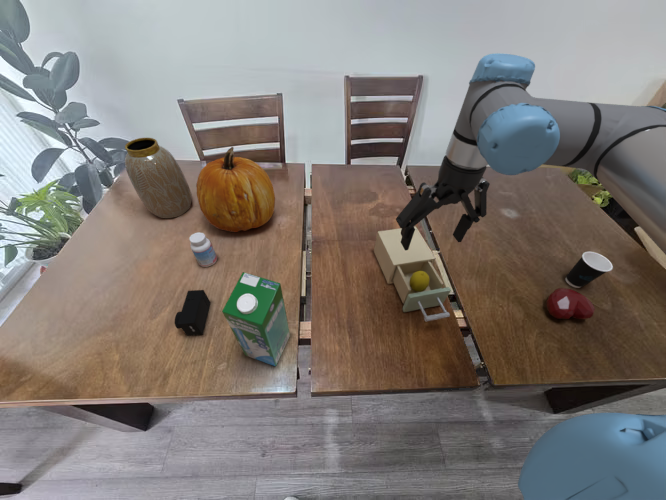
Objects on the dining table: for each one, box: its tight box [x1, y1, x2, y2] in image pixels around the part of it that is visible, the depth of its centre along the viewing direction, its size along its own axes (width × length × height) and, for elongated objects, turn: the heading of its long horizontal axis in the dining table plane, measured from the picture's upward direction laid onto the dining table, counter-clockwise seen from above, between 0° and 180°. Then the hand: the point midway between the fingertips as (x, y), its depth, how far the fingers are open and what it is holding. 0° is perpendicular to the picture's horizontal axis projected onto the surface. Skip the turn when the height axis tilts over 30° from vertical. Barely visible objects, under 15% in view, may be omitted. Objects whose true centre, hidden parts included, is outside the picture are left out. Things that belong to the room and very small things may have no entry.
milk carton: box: [221, 271, 291, 367], centre depth 65 cm, size 9×9×25 cm
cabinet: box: [373, 225, 436, 285], centre depth 91 cm, size 15×14×10 cm
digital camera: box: [174, 289, 211, 337], centre depth 76 cm, size 10×5×7 cm, turn 5°
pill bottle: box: [188, 231, 218, 268], centre depth 89 cm, size 6×6×11 cm
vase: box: [124, 137, 193, 219], centre depth 101 cm, size 17×17×27 cm
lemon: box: [410, 271, 429, 292], centre depth 82 cm, size 6×6×8 cm
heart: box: [545, 287, 596, 320], centre depth 82 cm, size 12×8×10 cm
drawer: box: [392, 261, 452, 323], centre depth 82 cm, size 20×13×8 cm, turn 13°
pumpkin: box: [196, 146, 276, 233], centre depth 97 cm, size 26×23×30 cm
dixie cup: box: [564, 251, 614, 289], centre depth 88 cm, size 8×8×11 cm
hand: (430, 242), depth 65 cm, fingers open, 13 cm apart
